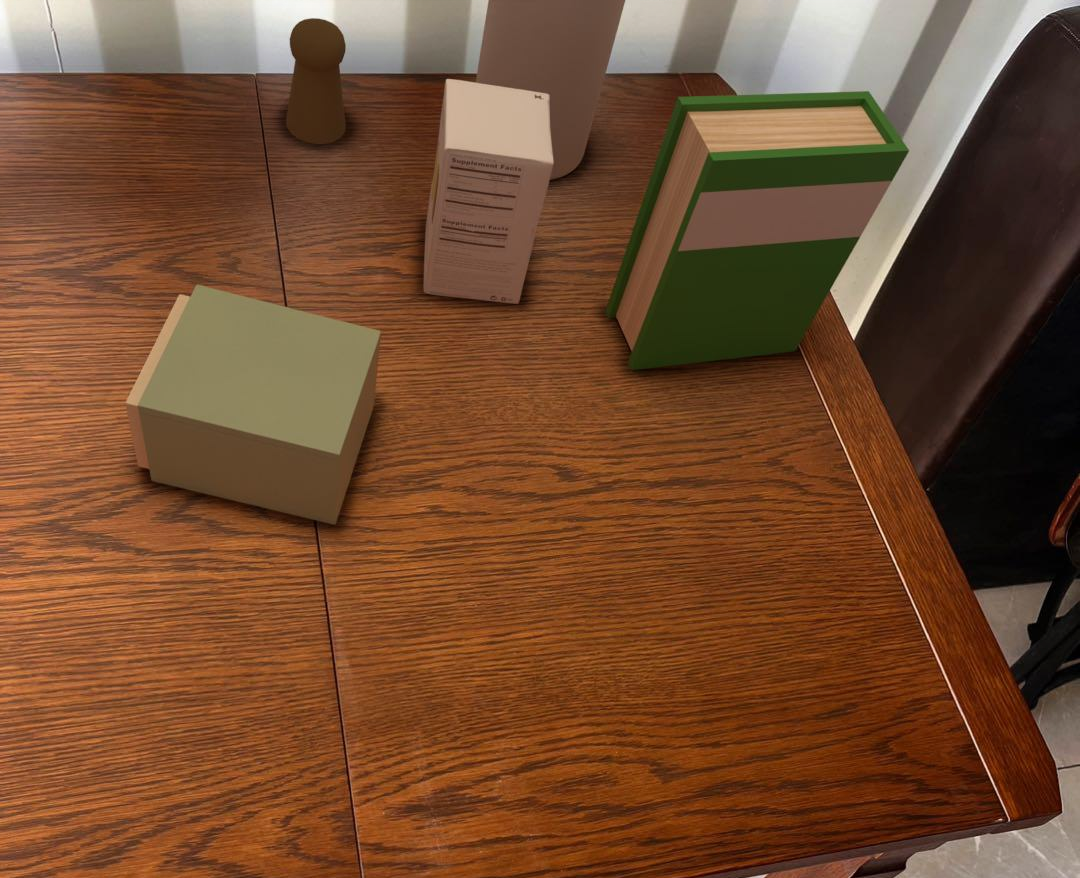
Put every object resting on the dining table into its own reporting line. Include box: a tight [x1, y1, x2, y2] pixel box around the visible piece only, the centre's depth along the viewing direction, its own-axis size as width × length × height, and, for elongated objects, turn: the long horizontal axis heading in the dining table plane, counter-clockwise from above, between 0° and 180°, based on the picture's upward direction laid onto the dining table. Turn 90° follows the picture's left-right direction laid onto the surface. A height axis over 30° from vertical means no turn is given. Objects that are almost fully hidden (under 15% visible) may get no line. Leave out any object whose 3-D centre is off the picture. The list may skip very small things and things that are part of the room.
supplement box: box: [423, 78, 554, 305], centre depth 97 cm, size 10×9×17 cm
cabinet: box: [138, 283, 382, 525], centre depth 85 cm, size 15×13×10 cm
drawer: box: [125, 293, 191, 470], centre depth 85 cm, size 15×11×8 cm
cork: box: [285, 17, 347, 145], centre depth 106 cm, size 6×6×11 cm
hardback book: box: [605, 90, 910, 371], centre depth 95 cm, size 18×7×24 cm, turn 107°
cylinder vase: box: [475, 0, 626, 181], centre depth 105 cm, size 12×12×25 cm
